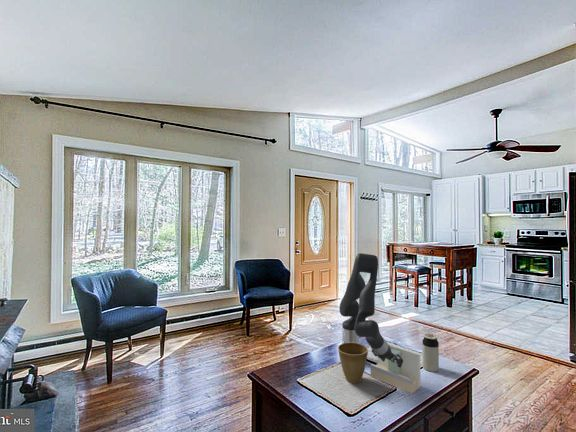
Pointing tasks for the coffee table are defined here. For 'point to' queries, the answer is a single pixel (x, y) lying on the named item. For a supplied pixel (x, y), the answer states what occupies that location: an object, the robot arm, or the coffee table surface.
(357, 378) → the plant pot
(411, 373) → the white display stand
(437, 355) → the travel mug
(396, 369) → the pale green block
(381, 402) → the coffee table surface
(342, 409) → the coffee table surface
